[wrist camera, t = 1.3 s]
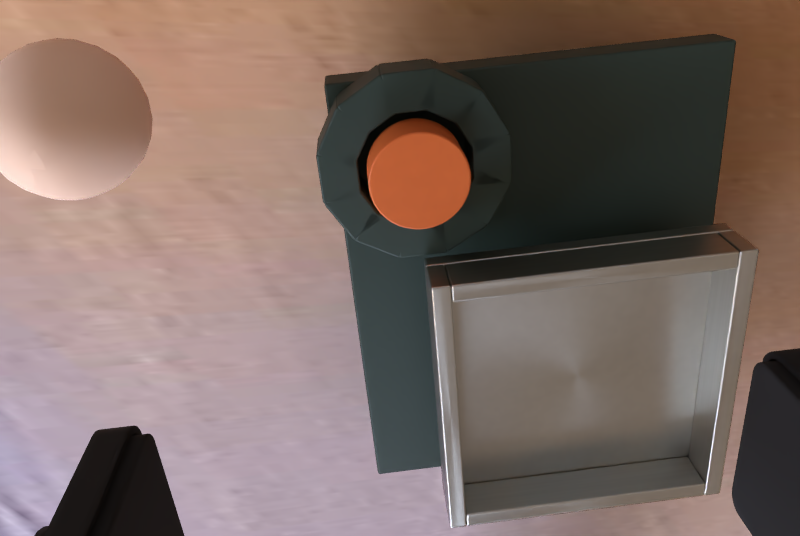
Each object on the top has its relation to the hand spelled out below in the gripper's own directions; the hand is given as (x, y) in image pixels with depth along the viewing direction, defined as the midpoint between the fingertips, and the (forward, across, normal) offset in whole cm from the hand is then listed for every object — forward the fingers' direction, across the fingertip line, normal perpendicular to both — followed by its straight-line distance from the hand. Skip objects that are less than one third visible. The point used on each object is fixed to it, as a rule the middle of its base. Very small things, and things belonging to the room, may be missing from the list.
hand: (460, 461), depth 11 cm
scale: (+15, -5, +5) cm, 16 cm away
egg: (+15, +10, -3) cm, 18 cm away
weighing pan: (+12, -6, +7) cm, 15 cm away
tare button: (+12, -1, -1) cm, 12 cm away
